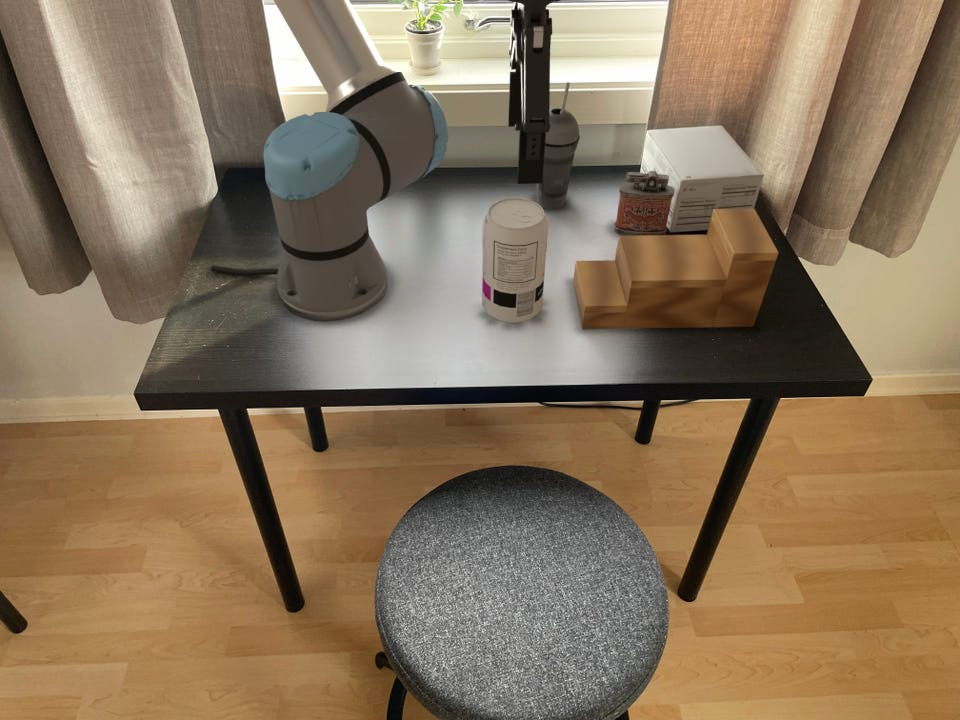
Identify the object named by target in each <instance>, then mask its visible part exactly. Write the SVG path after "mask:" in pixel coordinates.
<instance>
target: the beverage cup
mask: <svg viewBox="0 0 960 720" xmlns="http://www.w3.org/2000/svg"><path fill="white" fill-rule="evenodd" d="M570 83H571V82H566V84H565V87H564V93H563V98H562V103H561V108H560V107H555V108H549V124H550V130H549V132H546V139H545V153H544V167H543V180H542V183H538V184H535V187H536V188H535V189H536V198H537V199H536V200H537V202H536V203H537V204H539V205H540V206H541V207H542V208H545V209H550V210H553V209H559V208H562V207H563V206H564V205H565V202H566V199H567V194H568V189H569V184H570V179H571V173H572V168H573V163H574V159H575V158H574V157H575V153H576V150H577V147H578V144H579V142H580V139H581V137H580V127H579V123H578V121H577V119H576V117H575V116H574V115H573V114H572V113H571V112H570V111H568V110H567V109H566V103H567V99H568V94H569V88H570Z"/></svg>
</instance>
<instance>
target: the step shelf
mask: <svg viewBox="0 0 960 720" xmlns="http://www.w3.org/2000/svg"><path fill="white" fill-rule="evenodd" d="M778 255H779V251H778V249H777V247H776V245H775V243H774V242H773V240H772V238H771V236H770V235H769V233H768V231H767V229H766V227H765V225H764V223H763V222H762V220H761V218H760V216H759V214H758V213H757V210H756V209H755V208H754V209H713V213H712V217H711V220H710V224H709V228H708V230H707V232H706V234H665V235H648V236H626V235H618V240H617V245H616V251H615V258H614V259H603V260H602V259H601V260H598V259H597V260H596V259H595V260H592V259H591V260H575V263H574V270H573V271H574V272H573V279H572V280H573V281H572V282H573V283H572V286H573V290H574V294H575V300H576V306H577V311H578V317H579V321H580V326H581V327H580V328H581V330H620V329H621V330H622V329H623V330H626V329H627V330H628V329H632V330H633V329H683V328H684V329H688V328H689V329H691V328H692V329H693V328H697V329H698V328H748V327H749V328H751V327H752V328H753V327H755V323H756V320H757V318H758V315H759V312H760V308H761V305H762V303H763V299H764V297H765V294H766V291H767V288H768V285H769V282H770V279H771V276H772V274H773V270H774V268H775V266H776V265H775V264H776V261H777V258H778Z"/></svg>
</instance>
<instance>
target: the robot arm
mask: <svg viewBox="0 0 960 720" xmlns="http://www.w3.org/2000/svg"><path fill="white" fill-rule="evenodd" d="M506 1H507V2H510V3H513V5H512V8H511V9H510V41H509V49H508V56H509V59H510V60H509V67H510V70H511V71H509V85H508V87H509V88H508V119H507V120H508V121H507V125H508V127H510V128H514V131H516V132H517V131H518V132H519V134H518V154H517V175H516V176H517V177H516V178H517V179H516V181H517V184H518V185H520V184H521V185H529V184H535V185H536V184H538V183H542V180H543V167H544V153H545V139H546V132H549V130H550V124H549V110H550V109H551V108H550V101H551V100H550V97H551V96H550V95H551V94H550V93H551V44H552V35H553V18H552V17H550V9H549V8H547V7H548V6H549V5H550V4H552V3H557V2H560V1H561V0H506ZM273 2H274V4H275V5H276V7H277V9H278V11H279V12H280V14H281V16H282V17H283V19H284V21H285V23H286V25H287V26H288V28H289V29H290V32H291V33H292V35H293V36H294V38H295V40H296V42H297V43H298V45H299V47H300V49H301V51H302V52H303V54H304V56H305V57H306V59H307V61H308V62H309V64H310V67H311V68H312V70H313V72H314V73H315V75H316V76H317V78H318V80H319V81H320V84H321V85H322V87H323V89H324V91H325V92H326V94H327V97H328V101H327V105H326V109H325V111H316V112H314V113H312V114H311V115H308V114H306V113H304V114H301V115H297V116H295V117H293V118H290V119H288V120H286V121H285V122H283V123H281V124H280V125H278V127H276V128H275V129H274V130H272V131H271V133H270V135H268V138H267V139H266V140H265V144H264V147H263V163H264V178H265V183H266V186H267V188H268V190H269V194H270V199H271V203H272V208H273V212H274V216H275V221H276V225H277V230H278V235H279V238H280V244H281V250H280V255H279V262H278V267H277V268H276V267H275V268H254V269H242V268H232V267H226V266H219V265H211V266H210V271H211V272H214V273H220V274H227V275H228V274H229V275H234V276H263V275H264V276H266V275H267V276H269V275H276V290H277V293H278V297H279V300H280V302H281V304H282V305H283V306H284V308H285V309H286V310H288V311H289V312H291V313H292V314H294V315H296V316H298V317H301V318H304V319H307V320H313V321H339V320H344V319H349V318H352V317H355V316H357V315H360V314H363V313H365V312H366V311H369V310H370V309H371V308H373V307H375V306H376V305H377V304H378V303H379V302H380V301H381V300H382V298H383V297H384V296H385V294H386V292H387V289H388V285H389V282H388V272H387V269H386V265H385V263H384V260H383V258H382V256H381V254H380V253H379V251H378V249H377V246H376V245H375V243H374V241H373V239H372V238H371V236H370V230H369V224H368V223H369V222H368V221H369V220H368V213H367V212H368V210H369V209H370V208H372V207H373V206H375V205H377V204H378V203H380V202H382V201H384V200H385V199H387V198H389V197H391V196H393V195H394V194H395V193H397V192H399V191H401V190H402V189H403V190H404V188H406V187H407V186H410V185H411V184H413V183H415V182H418V181H420V180H421V179H423V178H425V177H426V176H427V175H428V173H430V172H432V171H433V170H435V169H436V168H438V166H439V165H440V164H441V163H442V161H443V160H444V158H445V156H446V154H447V151H448V150H447V149H448V148H447V147H448V146H447V144H448V142H449V127H448V121H447V118H446V116H445V112H444V110H443V108H442V106H441V104H440V102H439V101H438V99H437V98H436V97H435V95H434V94H433V93H432V92H431V91H429V90H426V88H425V87H423V86H421V85H417V84H409V82H408V81H407V79H406V77H405V75H404V74H403V72H402V70H401V69H400V68H397V67H394V66H391V65H388V64H386V63H385V62H384V61H383V59H382V57H381V56H380V53H379V52H378V50H377V48H376V47H375V44H374V42H373V40H372V39H371V37H370V36H369V34H368V31H367V30H366V28H365V26H364V25H363V23H362V21H361V19H360V17H359V14H357V12H356V10H355V8H354V6H353V4H352V3H351V1H350V0H273ZM512 70H513V71H512Z"/></svg>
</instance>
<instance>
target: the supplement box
mask: <svg viewBox="0 0 960 720" xmlns="http://www.w3.org/2000/svg"><path fill="white" fill-rule="evenodd" d="M649 171H655V172H656V174H663V175H668V176H669V181H668V184H667V185H669V186H671V187H673V188H674V189H675V192H674V196H673V197H672V201H671V206H670V210H669V215H668V220H667V225H666V227H667V230H668V231H669V233H681V232H696V231H698V232H699V231H708V228H709V224H710V220H711V217H712V213H713V209H755V207H756V203H757V200H758V196H759V193H760V189H761V186H762V183H763V181H764V176H765V174H764V173H763V171H761V169H760V168H759V167H758V166H757V165H756V164H755V162H754V161H753V160H752V159H751V158H750V157H749V156H748V154H747V153H746V152H745V151H744V150H743V149H742V147H741V146H740V145H739V144H738V143H737V142H736V140H735V139H734V138H733V137H732V136H731V135H730V133H729V132H728V131H727V130H726V128H725V127H724V126H723V125H722V124H721V125H703V126H691V127H690V126H689V127H675V128H673V127H672V128H659V129H658V128H657V129H648V130H646V133H645V139H644V144H643V153H642V157H641V163H640V170H639V172H640V173H643V174H647V173H648V172H649Z"/></svg>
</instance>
